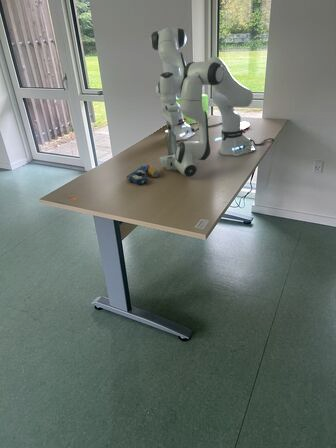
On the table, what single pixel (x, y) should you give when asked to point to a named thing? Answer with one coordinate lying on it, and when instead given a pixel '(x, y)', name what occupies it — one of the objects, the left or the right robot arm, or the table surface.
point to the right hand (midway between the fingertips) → (172, 154)
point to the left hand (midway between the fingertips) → (170, 129)
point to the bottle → (171, 142)
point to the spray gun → (142, 174)
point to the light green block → (204, 105)
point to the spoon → (244, 125)
